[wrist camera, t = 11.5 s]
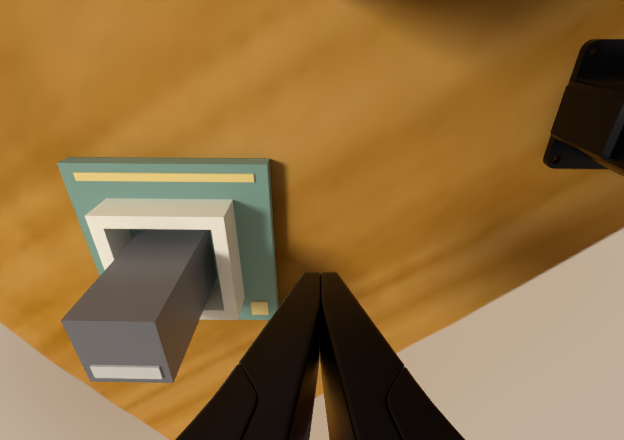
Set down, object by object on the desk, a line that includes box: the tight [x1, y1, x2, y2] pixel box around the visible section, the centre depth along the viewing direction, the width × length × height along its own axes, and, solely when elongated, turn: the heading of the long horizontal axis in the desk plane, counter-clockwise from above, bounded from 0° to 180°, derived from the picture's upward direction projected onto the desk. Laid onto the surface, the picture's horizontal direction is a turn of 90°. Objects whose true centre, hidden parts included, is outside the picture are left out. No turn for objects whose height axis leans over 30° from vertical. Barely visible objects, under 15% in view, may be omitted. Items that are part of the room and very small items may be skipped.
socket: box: [85, 198, 245, 320], centre depth 22 cm, size 8×8×2 cm
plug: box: [61, 229, 217, 383], centre depth 19 cm, size 4×4×8 cm
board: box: [57, 157, 279, 320], centre depth 23 cm, size 12×12×1 cm
